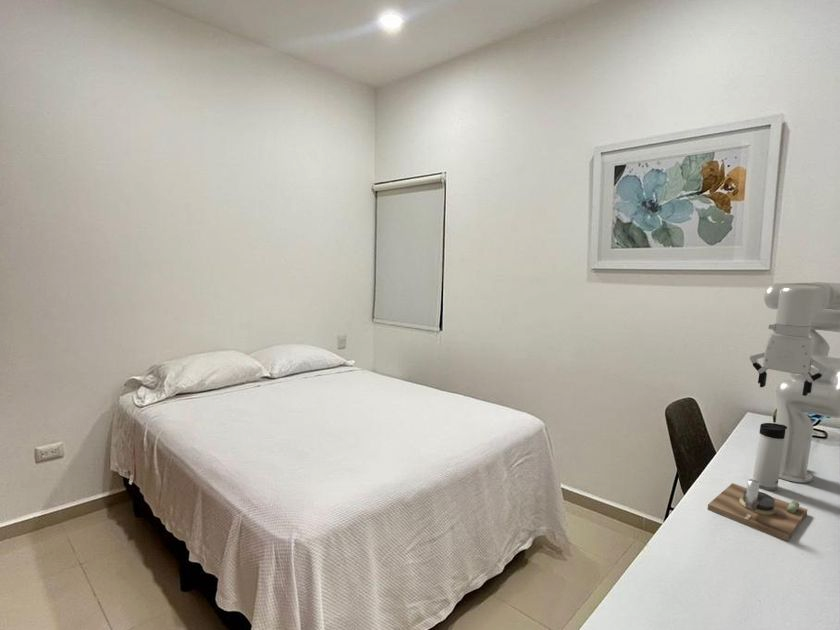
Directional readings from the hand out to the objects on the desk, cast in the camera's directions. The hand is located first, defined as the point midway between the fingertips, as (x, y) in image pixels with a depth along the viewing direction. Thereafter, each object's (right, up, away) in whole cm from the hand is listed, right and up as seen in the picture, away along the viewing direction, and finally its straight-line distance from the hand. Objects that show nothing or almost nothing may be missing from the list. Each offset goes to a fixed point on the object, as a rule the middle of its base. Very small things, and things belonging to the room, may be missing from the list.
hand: (783, 390), depth 129 cm
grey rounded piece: (-11, -31, -4) cm, 33 cm away
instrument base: (-9, -34, -2) cm, 35 cm away
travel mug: (+5, -32, +13) cm, 35 cm away
